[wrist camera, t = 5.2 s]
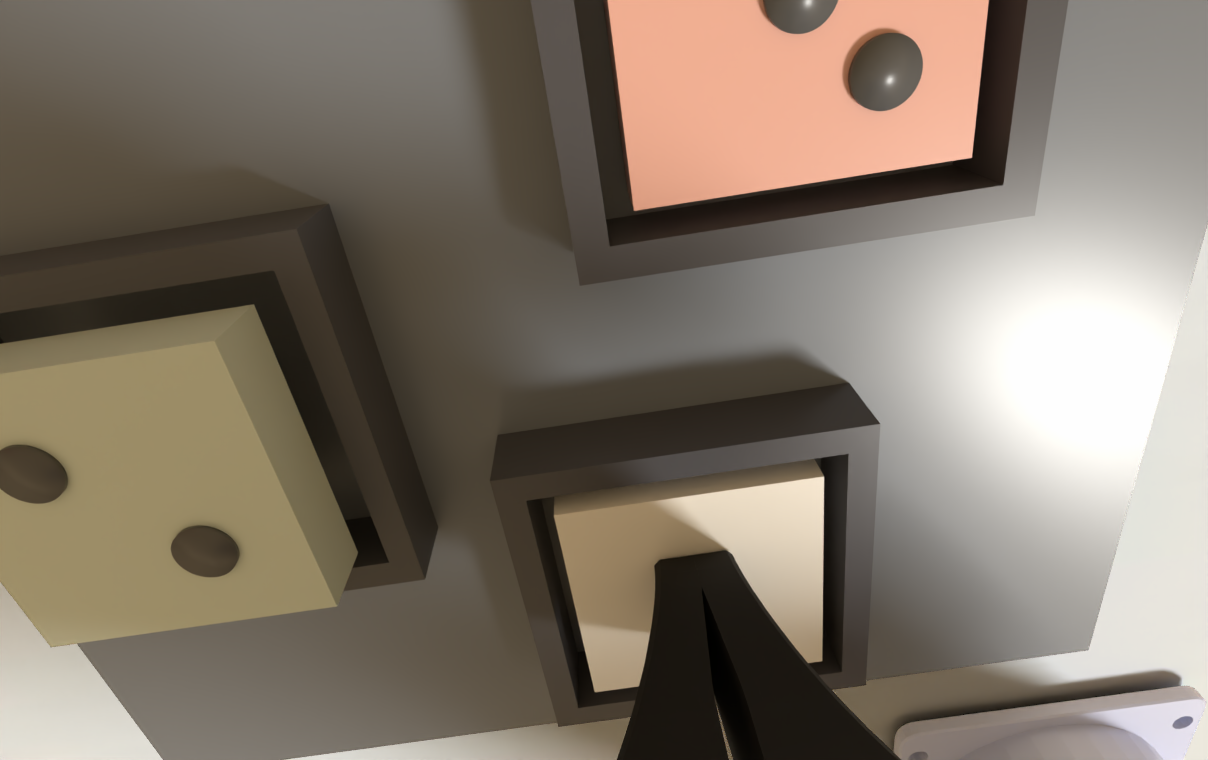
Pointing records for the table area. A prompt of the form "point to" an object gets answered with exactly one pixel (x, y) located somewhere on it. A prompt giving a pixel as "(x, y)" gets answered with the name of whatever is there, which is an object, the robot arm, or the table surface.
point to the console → (607, 331)
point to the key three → (789, 91)
